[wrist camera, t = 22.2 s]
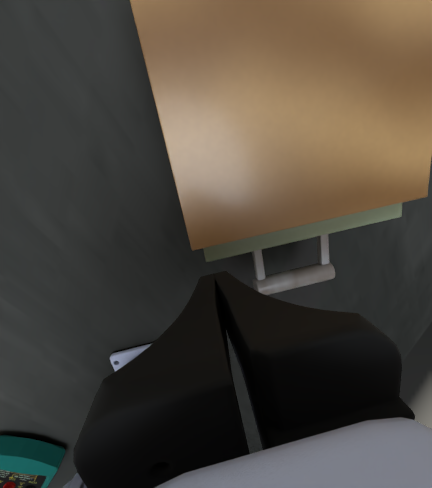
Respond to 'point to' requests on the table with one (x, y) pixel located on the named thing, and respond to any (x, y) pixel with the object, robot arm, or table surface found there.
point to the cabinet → (289, 108)
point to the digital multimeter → (28, 462)
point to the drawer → (319, 229)
